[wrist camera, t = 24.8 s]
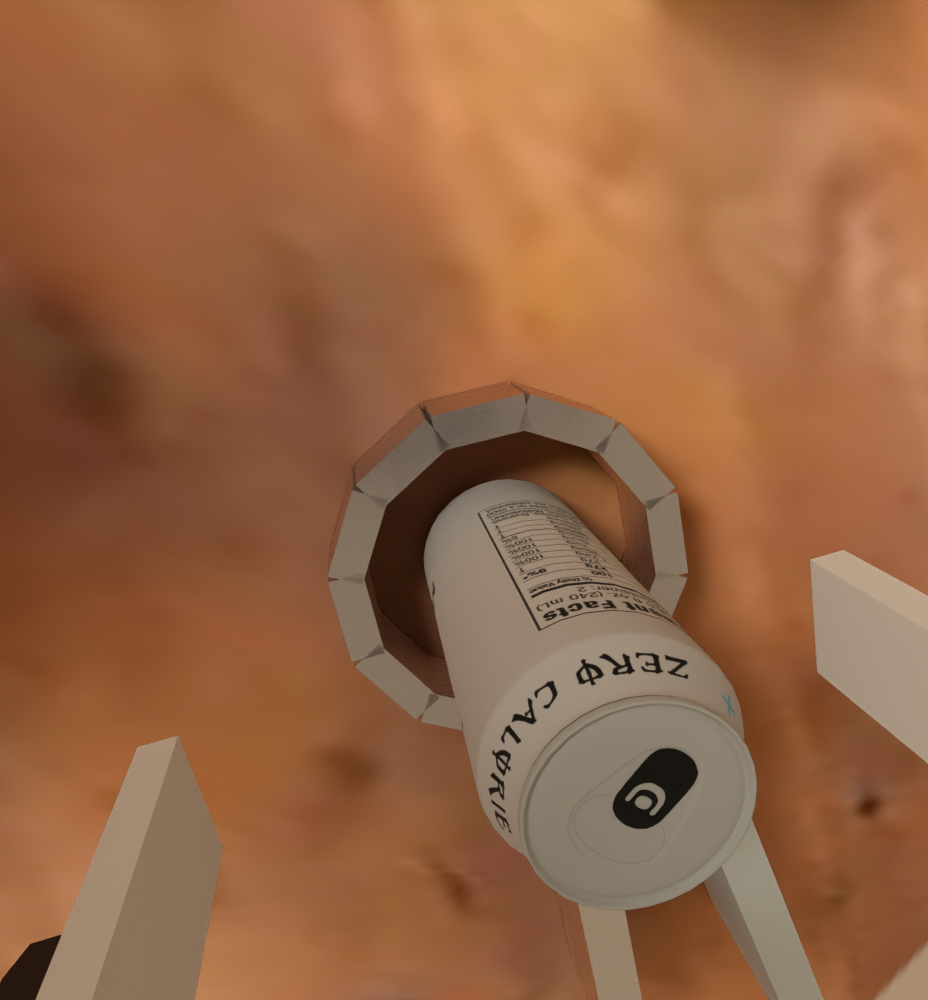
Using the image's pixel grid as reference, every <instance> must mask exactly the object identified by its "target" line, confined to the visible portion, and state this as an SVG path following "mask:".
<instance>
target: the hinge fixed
mask: <svg viewBox="0 0 928 1000" xmlns="http://www.w3.org/2000/svg"><path fill="white" fill-rule="evenodd" d="M423 405H424V410H425V412H424V411H423V410H422V409H421V408H420V407H419V406H418V405H417V406H416V407H414V408H413V409H412V410H411V411H410V412H409V413H408V414H407V415H406V416H405V417H404V418H403V419H402V420H401V421H400V422H399V423H398V424H397V425H395V426H394V427H393V428H392V429H391V430H390V431H389V432H388V433H387V434H386V435H385V436H384V437H383V438H382V439H381V440H380V441H379V442H378V443H376V444H375V445H374V446H373V447H372V448H371V449H370V450H369V451H368V452H367V453H366V454H365V455H364V456H363V457H362V458H361V459H360V460H359V461H357V462H356V463H355V469H353V468H352V472H351V475H350V479H349V482H348V486H347V489H346V493H345V496H344V500H343V503H342V507H341V510H340V514H339V517H338V521H337V524H336V528H335V531H334V535H333V538H332V542H331V545H330V555H329V567H328V585H329V589H330V592H331V595H332V599H333V602H334V605H335V609H336V612H337V615H338V619H339V622H340V625H341V629H342V632H343V635H344V639H345V642H346V645H347V649H348V652H349V655H350V659H351V662H354V661H355V668H356V669H358V670H359V671H360V672H361V673H362V674H363V675H364V676H366V677H367V678H368V679H369V680H370V681H371V682H373V683H374V684H375V685H376V686H377V687H378V688H380V689H381V690H382V691H383V692H384V693H385V694H386V695H388V696H389V697H390V698H391V699H392V700H393V701H395V702H396V703H397V704H398V705H399V706H400V707H401V708H403V709H404V710H405V711H406V712H407V713H408V714H410V715H411V716H412V717H413V718H414V719H415V720H416V719H417V718H418V717H419V716H420V721H421V722H423V723H428V724H433V725H438V726H443V727H448V728H453V729H458V730H462V726H461V721H460V717H459V713H458V709H457V705H456V701H455V696H454V692H453V688H452V684H451V680H450V676H449V671H448V667H447V663H446V659H445V658H441V657H436V656H431V655H428V654H427V653H425V652H424V651H423V650H422V649H421V648H420V647H419V646H418V645H417V644H416V643H414V642H413V641H412V640H411V639H410V638H409V637H408V636H407V635H406V634H405V633H403V632H402V631H401V630H400V629H399V628H398V627H397V626H396V625H395V624H394V623H392V622H391V621H390V620H389V619H388V618H387V617H386V616H385V615H384V614H383V613H381V611H380V608H379V604H378V600H377V597H376V593H375V590H374V586H373V583H372V579H371V575H370V572H369V568H368V565H369V561H370V558H371V555H372V551H373V548H374V545H375V541H376V538H377V535H378V531H379V528H380V525H381V521H382V518H383V515H384V511H385V508H386V505H387V504H388V503H390V502H391V501H392V500H393V499H394V498H395V497H396V496H397V495H398V494H399V493H400V492H401V491H402V490H403V489H405V488H406V487H407V486H408V485H409V484H410V483H411V482H412V481H413V480H414V479H415V478H416V477H417V476H418V475H420V474H421V473H422V472H423V471H424V470H425V469H426V468H427V467H428V466H429V465H430V464H431V463H432V462H433V461H434V460H436V459H437V458H438V457H439V456H440V455H441V454H442V453H443V452H444V451H445V450H448V449H452V448H456V447H460V446H464V445H468V444H472V443H477V442H481V441H485V440H489V439H493V438H497V437H501V436H505V435H509V434H513V433H517V432H521V431H528V432H531V433H534V434H538V435H541V436H544V437H548V438H551V439H555V440H558V441H561V442H565V443H568V444H572V445H575V446H578V447H582V448H585V449H586V450H587V451H588V452H589V453H590V455H591V456H592V457H593V458H594V459H595V460H596V461H597V462H598V464H599V465H600V466H601V467H602V468H603V469H604V470H605V472H606V473H607V474H608V475H609V476H610V477H611V478H612V480H613V481H614V482H615V483H616V484H617V490H618V496H619V503H620V509H621V515H622V521H623V528H624V534H625V540H626V547H627V548H626V550H625V553H624V556H623V558H622V561H621V564H622V565H623V566H624V567H625V568H626V569H627V570H628V571H629V572H630V573H631V574H632V575H633V576H634V577H635V578H636V579H637V581H638V582H639V583H640V584H641V585H642V586H643V587H644V588H645V589H646V590H647V591H648V592H649V593H650V594H651V595H652V596H653V597H654V598H655V600H656V601H657V602H658V603H659V604H660V605H661V606H662V607H663V608H664V609H665V610H666V611H667V612H668V613H669V614H670V615H671V616H672V615H673V613H674V610H675V608H676V605H677V603H678V600H679V598H680V595H681V593H682V591H683V588H684V586H685V583H686V581H687V577H686V576H684V575H683V574H685V573H688V567H687V559H686V552H685V544H684V537H683V529H682V522H681V514H680V507H679V499H678V492H676V491H675V490H673V489H674V488H675V486H674V485H673V484H672V483H671V482H670V480H669V479H668V478H667V477H666V476H665V474H664V473H663V472H662V471H661V470H660V469H659V467H658V466H657V465H656V464H655V463H654V461H653V460H652V459H651V458H650V457H649V456H648V454H647V453H646V452H645V451H644V450H643V448H642V447H641V446H640V445H639V444H638V443H637V441H636V440H635V439H634V438H633V437H632V435H631V434H630V433H629V432H628V431H627V430H626V428H625V427H624V426H623V425H622V424H621V423H620V422H618V421H616V420H615V419H613V418H611V417H609V416H607V415H606V414H604V413H602V412H600V411H598V410H596V409H594V408H592V407H590V406H588V405H585V404H581V403H578V402H575V401H572V400H568V399H565V398H562V397H559V396H556V395H552V394H549V393H546V392H543V391H539V390H536V389H533V388H530V387H526V386H523V385H520V384H517V383H513V382H511V385H510V384H508V383H507V382H503V383H499V384H495V385H490V386H486V387H482V388H478V389H474V390H470V391H466V392H461V393H457V394H453V395H449V396H445V397H441V398H437V399H432V400H428V401H424V402H423ZM557 897H558V901H559V906H560V910H561V914H562V919H563V923H564V928H565V932H566V937H567V941H568V945H569V950H570V954H571V958H572V961H573V964H574V967H575V971H576V974H577V977H578V980H579V983H580V986H581V989H582V992H583V995H584V998H585V1000H642V997H641V991H640V986H639V981H638V976H637V970H636V965H635V960H634V955H633V950H632V944H631V939H630V934H629V929H628V924H627V918H626V913H625V910H603V909H598V908H592V907H587V906H583V905H581V904H578V903H576V902H573V901H571V900H568V899H566V898H564V897H563V896H561V895H560V894H558V893H557Z"/></svg>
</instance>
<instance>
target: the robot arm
mask: <svg viewBox="0 0 928 1000" xmlns="http://www.w3.org/2000/svg"><path fill="white" fill-rule="evenodd" d="M810 564H811V581H812V597H813V613H814V630H815V646H816V662H817V672H818V673H819V674H820V675H821V676H822V677H824V678H825V679H826V680H827V681H828V682H830V683H831V684H832V685H833V686H835V687H836V688H837V689H838V690H839V691H841V692H842V693H843V694H844V695H845V696H847V697H848V698H849V699H850V700H851V701H853V702H854V703H855V704H856V705H858V706H859V707H860V708H861V709H862V710H864V711H865V712H866V713H867V714H868V715H870V716H871V717H872V718H873V719H874V720H876V721H877V722H878V723H879V724H881V725H882V726H883V727H884V728H885V729H887V730H888V731H889V732H890V733H891V734H893V735H894V736H895V737H896V738H898V739H899V740H900V741H901V742H902V743H904V744H905V745H906V746H907V747H908V748H910V749H911V750H912V751H913V752H914V753H916V754H917V755H918V756H919V757H921V758H922V759H923V760H924V761H925V762H927V763H928V596H927V595H925V594H924V593H922V592H920V591H918V590H916V589H914V588H912V587H911V586H909V585H907V584H905V583H903V582H901V581H900V580H898V579H896V578H894V577H892V576H890V575H889V574H887V573H885V572H883V571H881V570H879V569H878V568H876V567H874V566H872V565H870V564H868V563H867V562H865V561H863V560H861V559H859V558H857V557H856V556H854V555H852V554H850V553H848V552H846V551H845V550H842V551H839V552H835V553H832V554H828V555H825V556H821V557H817V558H814V559H810ZM222 849H223V846H222V844H221V841H220V839H219V836H218V834H217V831H216V829H215V826H214V824H213V821H212V819H211V816H210V814H209V811H208V809H207V806H206V804H205V801H204V799H203V797H202V794H201V792H200V789H199V787H198V784H197V782H196V779H195V777H194V774H193V772H192V769H191V767H190V764H189V762H188V759H187V757H186V754H185V752H184V749H183V747H182V744H181V742H180V739H179V737H178V736H175V737H171V738H168V739H164V740H160V741H157V742H153V743H150V744H146V745H143V746H139V747H137V750H136V752H135V755H134V757H133V760H132V762H131V765H130V767H129V770H128V772H127V774H126V777H125V779H124V782H123V784H122V787H121V789H120V792H119V794H118V797H117V799H116V802H115V804H114V807H113V809H112V812H111V814H110V817H109V819H108V822H107V824H106V827H105V829H104V831H103V834H102V836H101V839H100V841H99V844H98V846H97V849H96V851H95V854H94V856H93V859H92V861H91V864H90V866H89V869H88V871H87V874H86V876H85V879H84V881H83V883H82V886H81V888H80V891H79V893H78V896H77V898H76V901H75V903H74V906H73V908H72V911H71V913H70V916H69V918H68V921H67V923H66V926H65V928H64V931H63V933H62V935H59V936H55V937H52V938H49V939H45V940H42V941H39V942H35V943H32V944H30V945H29V946H28V948H27V949H26V950H25V951H24V952H23V954H22V955H21V956H20V957H19V959H18V960H17V961H16V962H15V964H14V965H13V966H12V967H11V969H10V970H9V971H8V972H7V974H6V975H5V976H4V977H3V978H2V980H1V982H0V1000H195V995H196V989H197V984H198V979H199V973H200V968H201V963H202V957H203V952H204V946H205V941H206V936H207V930H208V925H209V919H210V914H211V909H212V903H213V898H214V893H215V887H216V882H217V876H218V871H219V866H220V860H221V855H222Z"/></svg>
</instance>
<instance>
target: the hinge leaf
mask: <svg viewBox="0 0 928 1000" xmlns="http://www.w3.org/2000/svg"><path fill="white" fill-rule="evenodd" d="M704 884H705V886H706V888H707V890H708V893H709V895H710V897H711V899H712V902H713V904H714V906H715V908H716V910H717V912H718V913H719V915H720V917H721V918H722V920H723V922H724V924H725V925H726V927H727V929H728V931H729V932H730V934H731V936H732V937H733V939H734V941H735V943H736V944H737V946H738V948H739V950H740V951H741V953H742V955H743V957H744V958H745V960H746V962H747V963H748V965H749V967H750V969H751V970H752V972H753V974H754V976H755V977H756V979H757V981H758V982H759V984H760V986H761V988H762V989H763V991H764V993H765V995H766V996H767V998H768V1000H824V999H823V997H822V994H821V992H820V989H819V987H818V984H817V982H816V979H815V977H814V974H813V971H812V969H811V966H810V964H809V961H808V959H807V956H806V954H805V951H804V949H803V946H802V944H801V941H800V939H799V936H798V934H797V931H796V929H795V926H794V924H793V921H792V919H791V916H790V914H789V911H788V909H787V906H786V904H785V901H784V899H783V896H782V894H781V891H780V889H779V886H778V884H777V881H776V879H775V876H774V874H773V871H772V868H771V866H770V863H769V861H768V858H767V856H766V853H765V851H764V848H763V846H762V843H761V841H760V838H759V836H758V833H757V831H756V828H755V826H754V823H753V821H752V819H751V822H750V825H749V827H748V829H747V831H746V833H745V835H744V837H743V839H742V841H741V843H740V844H739V846H738V847H737V848H736V849H735V851H734V852H733V853H732V855H731V856H730V857H729V859H728V860H727V861H726V862H725V863H724V864H723V865H722V866H721V867H720V868H719V869H718V870H717V871H716V872H715V873H714V874H713V875H712V876H711V877H709V878H708V879H706V880H705V881H704Z"/></svg>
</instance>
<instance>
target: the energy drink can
mask: <svg viewBox="0 0 928 1000" xmlns="http://www.w3.org/2000/svg"><path fill="white" fill-rule="evenodd" d="M424 569H425V575H426V579H427V584H428V588H429V592H430V596H431V600H432V605H433V609H434V613H435V617H436V621H437V625H438V630H439V634H440V638H441V642H442V646H443V650H444V655H445V659H446V663H447V667H448V671H449V676H450V680H451V684H452V688H453V692H454V696H455V701H456V705H457V709H458V713H459V717H460V721H461V726H462V730H463V734H464V738H465V742H466V747H467V751H468V755H469V759H470V763H471V767H472V772H473V776H474V780H475V784H476V788H477V791H478V795H479V798H480V802H481V805H482V809H483V810H484V812H485V814H486V816H487V817H488V819H489V821H490V823H491V825H492V826H493V828H494V829H495V830H496V831H497V832H498V833H499V834H500V836H501V837H502V838H503V839H504V840H505V841H506V842H507V843H508V844H509V845H510V846H511V847H512V848H514V849H515V850H517V851H518V852H520V853H521V854H523V855H524V856H526V857H527V859H528V861H529V863H530V864H531V866H532V868H533V870H534V872H535V873H536V874H537V875H538V876H539V877H540V878H541V879H542V881H543V882H544V883H545V884H546V885H547V886H548V887H549V888H551V889H552V890H554V891H555V892H557V893H558V894H560V895H561V896H563V897H564V898H566V899H568V900H571V901H573V902H576V903H578V904H581V905H583V906H587V907H592V908H598V909H603V910H632V909H638V908H645V907H650V906H653V905H657V904H660V903H663V902H666V901H669V900H672V899H674V898H676V897H678V896H680V895H682V894H684V893H686V892H688V891H690V890H692V889H693V888H695V887H696V886H698V885H699V884H701V883H702V882H703V881H705V880H706V879H708V878H709V877H711V876H712V875H713V874H714V873H715V872H716V871H717V870H718V869H719V868H720V867H721V866H722V865H723V864H724V863H725V862H726V861H727V860H728V859H729V857H730V856H731V855H732V853H733V852H734V851H735V849H736V848H737V847H738V846H739V844H740V843H741V841H742V839H743V837H744V835H745V833H746V831H747V829H748V827H749V825H750V822H751V819H752V815H753V812H754V809H755V805H756V795H757V778H756V771H755V764H754V762H753V759H752V757H751V754H750V752H749V749H748V747H747V745H746V744H745V742H744V727H743V720H742V713H741V707H740V704H739V701H738V699H737V696H736V694H735V691H734V689H733V686H732V684H731V683H730V682H729V680H728V679H727V677H726V676H725V674H724V673H723V672H722V670H721V669H720V667H719V666H718V665H717V664H716V663H715V662H714V661H713V660H712V659H711V658H710V657H709V656H708V655H707V653H706V652H705V651H704V650H703V649H702V648H701V647H700V646H699V645H698V644H697V643H696V642H695V641H694V640H693V639H692V638H691V637H690V635H689V634H688V633H687V632H686V631H685V630H684V629H683V628H682V627H681V626H680V625H679V624H678V623H677V622H676V621H675V620H674V619H673V618H672V616H671V615H670V614H669V613H668V612H667V611H666V610H665V609H664V608H663V607H662V606H661V605H660V604H659V603H658V602H657V601H656V600H655V598H654V597H653V596H652V595H651V594H650V593H649V592H648V591H647V590H646V589H645V588H644V587H643V586H642V585H641V584H640V583H639V582H638V581H637V579H636V578H635V577H634V576H633V575H632V574H631V573H630V572H629V571H628V570H627V569H626V568H625V567H624V566H623V565H622V564H621V563H620V561H619V560H618V559H617V558H616V557H615V556H614V555H613V554H612V553H611V552H610V551H609V550H608V549H607V548H606V547H605V546H604V545H603V544H602V542H601V541H600V540H599V539H598V538H597V537H596V536H595V535H594V534H593V533H592V532H591V531H590V530H589V529H588V528H587V527H586V526H585V524H584V523H583V522H582V521H581V520H580V519H579V518H578V517H577V516H576V515H575V514H574V513H573V512H572V511H571V510H570V509H569V508H568V507H567V505H566V504H565V503H564V502H562V501H561V500H560V499H559V498H558V497H557V496H556V495H555V494H554V493H552V492H550V491H548V490H547V489H545V488H543V487H541V486H539V485H536V484H533V483H530V482H527V481H521V480H512V479H506V480H494V481H490V482H486V483H483V484H479V485H477V486H475V487H473V488H470V489H468V490H466V491H464V492H463V493H461V494H460V495H459V496H457V497H456V498H455V499H453V500H452V501H451V502H450V503H449V504H448V505H447V506H446V507H445V508H444V509H443V510H442V512H441V513H440V514H439V515H438V517H437V519H436V520H435V522H434V524H433V525H432V527H431V529H430V532H429V535H428V538H427V540H426V545H425V552H424Z"/></svg>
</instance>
